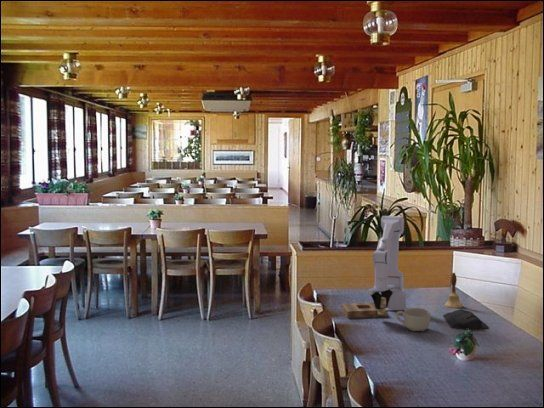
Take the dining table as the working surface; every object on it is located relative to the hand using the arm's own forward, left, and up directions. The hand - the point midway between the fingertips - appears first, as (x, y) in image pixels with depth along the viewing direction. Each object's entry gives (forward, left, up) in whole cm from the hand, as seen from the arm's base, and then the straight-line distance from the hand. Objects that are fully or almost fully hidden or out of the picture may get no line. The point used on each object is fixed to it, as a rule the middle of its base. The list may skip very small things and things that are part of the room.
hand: (381, 307), depth 262 cm
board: (+5, -13, -6) cm, 15 cm away
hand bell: (-40, -20, -6) cm, 45 cm away
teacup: (-10, +14, -6) cm, 18 cm away
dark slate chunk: (-35, +7, -6) cm, 36 cm away
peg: (0, 0, -3) cm, 3 cm away
